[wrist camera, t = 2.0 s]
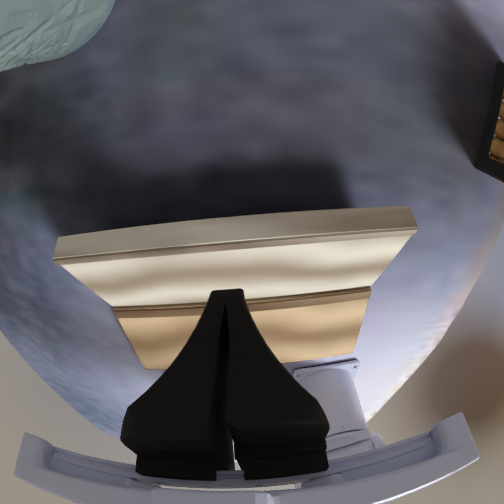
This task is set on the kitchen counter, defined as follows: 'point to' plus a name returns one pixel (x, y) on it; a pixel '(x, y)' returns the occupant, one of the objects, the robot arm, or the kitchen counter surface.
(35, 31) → the green cup
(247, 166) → the kitchen counter surface
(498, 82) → the ammunition clip
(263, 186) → the kitchen counter surface
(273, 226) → the plank
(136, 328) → the laid plank
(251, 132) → the kitchen counter surface
